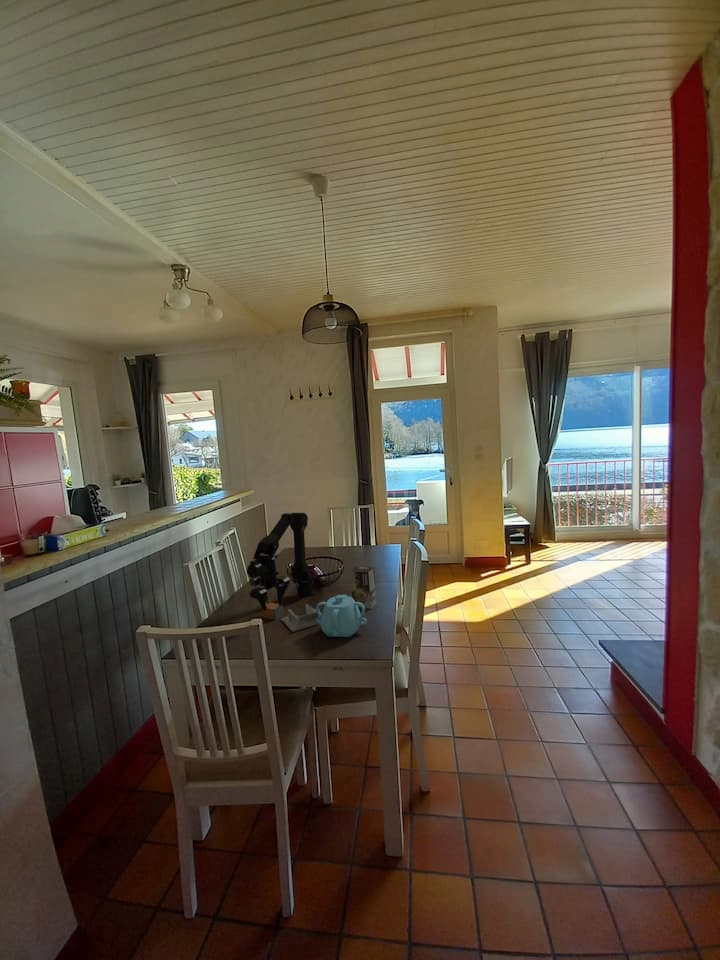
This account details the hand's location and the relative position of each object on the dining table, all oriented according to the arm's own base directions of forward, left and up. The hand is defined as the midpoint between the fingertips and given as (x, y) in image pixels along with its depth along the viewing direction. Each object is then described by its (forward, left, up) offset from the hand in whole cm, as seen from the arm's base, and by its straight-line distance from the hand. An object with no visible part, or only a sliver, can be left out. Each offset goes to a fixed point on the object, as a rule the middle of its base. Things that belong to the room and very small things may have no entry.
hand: (272, 606), depth 162 cm
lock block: (0, 0, -4) cm, 4 cm away
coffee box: (-36, +15, -4) cm, 39 cm away
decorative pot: (-17, +30, -4) cm, 35 cm away
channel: (-9, +12, -4) cm, 16 cm away
